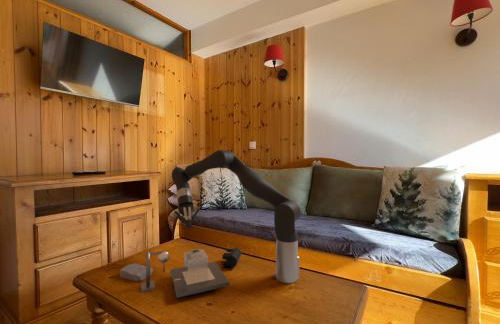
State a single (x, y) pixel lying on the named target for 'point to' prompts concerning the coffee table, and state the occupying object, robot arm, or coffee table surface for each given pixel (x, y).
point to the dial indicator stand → (149, 284)
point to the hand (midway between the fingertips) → (189, 227)
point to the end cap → (231, 258)
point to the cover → (195, 262)
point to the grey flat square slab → (198, 280)
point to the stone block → (134, 272)
